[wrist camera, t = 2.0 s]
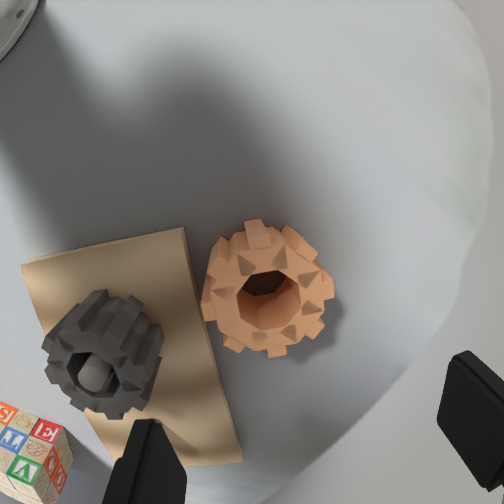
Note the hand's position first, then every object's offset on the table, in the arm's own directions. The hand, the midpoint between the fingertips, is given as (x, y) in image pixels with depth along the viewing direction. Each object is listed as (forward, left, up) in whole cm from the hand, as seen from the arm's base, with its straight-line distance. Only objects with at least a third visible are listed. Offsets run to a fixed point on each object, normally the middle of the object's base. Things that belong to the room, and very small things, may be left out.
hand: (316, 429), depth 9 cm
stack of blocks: (+12, -34, -15) cm, 39 cm away
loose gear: (0, 0, -14) cm, 14 cm away
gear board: (+7, -11, -14) cm, 19 cm away
